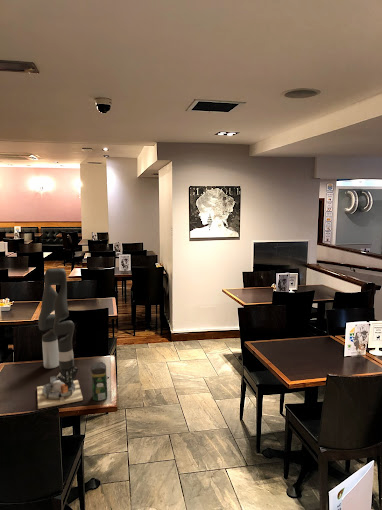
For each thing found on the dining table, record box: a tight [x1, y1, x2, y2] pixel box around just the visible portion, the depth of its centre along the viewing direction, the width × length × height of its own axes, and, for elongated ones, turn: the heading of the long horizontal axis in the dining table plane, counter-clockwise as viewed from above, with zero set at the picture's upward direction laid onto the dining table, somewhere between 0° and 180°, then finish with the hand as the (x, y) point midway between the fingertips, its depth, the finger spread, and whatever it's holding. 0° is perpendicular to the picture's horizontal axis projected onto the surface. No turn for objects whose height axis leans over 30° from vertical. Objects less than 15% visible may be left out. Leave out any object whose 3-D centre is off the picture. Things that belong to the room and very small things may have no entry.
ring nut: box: [42, 375, 75, 399], centre depth 217 cm, size 16×16×6 cm
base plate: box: [36, 379, 84, 410], centre depth 218 cm, size 22×22×7 cm
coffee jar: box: [90, 361, 108, 402], centre depth 214 cm, size 10×8×19 cm
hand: (68, 388), depth 215 cm, fingers closed
